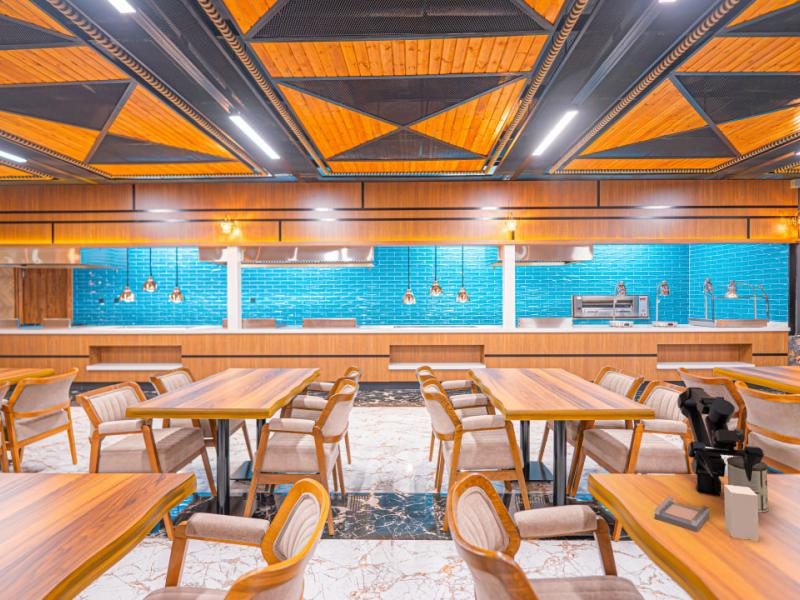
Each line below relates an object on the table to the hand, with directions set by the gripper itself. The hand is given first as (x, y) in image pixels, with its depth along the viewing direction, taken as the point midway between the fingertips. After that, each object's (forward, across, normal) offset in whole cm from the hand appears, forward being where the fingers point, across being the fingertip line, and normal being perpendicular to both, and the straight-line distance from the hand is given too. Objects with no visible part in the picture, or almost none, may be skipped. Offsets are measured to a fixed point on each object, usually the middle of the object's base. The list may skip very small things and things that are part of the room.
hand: (731, 478), depth 131 cm
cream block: (+14, 0, +4) cm, 15 cm away
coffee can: (-1, +9, +20) cm, 22 cm away
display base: (+10, -13, +8) cm, 19 cm away
